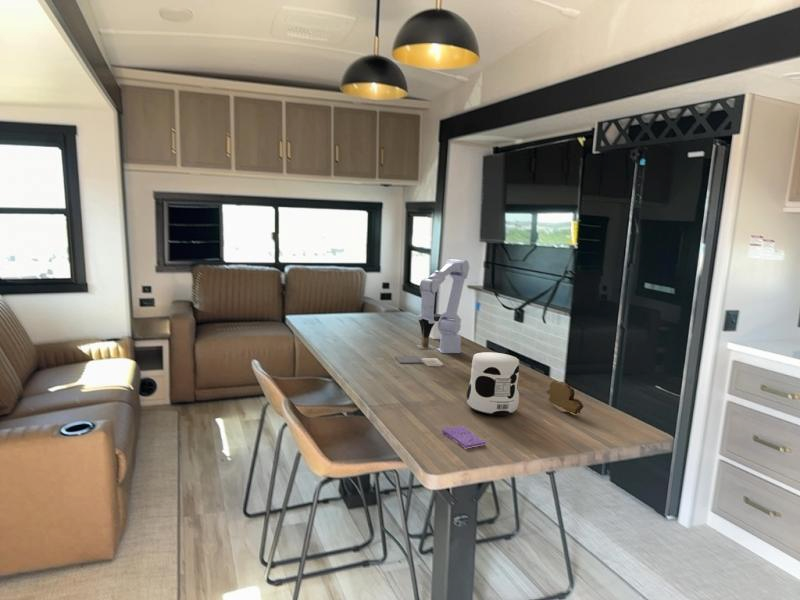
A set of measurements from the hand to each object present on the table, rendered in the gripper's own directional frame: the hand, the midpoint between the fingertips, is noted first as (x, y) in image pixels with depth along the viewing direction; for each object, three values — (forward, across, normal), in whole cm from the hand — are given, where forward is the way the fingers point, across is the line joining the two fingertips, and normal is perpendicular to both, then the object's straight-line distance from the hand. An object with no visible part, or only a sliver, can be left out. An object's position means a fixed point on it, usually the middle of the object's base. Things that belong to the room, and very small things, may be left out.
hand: (425, 336), depth 237 cm
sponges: (+12, +84, -13) cm, 86 cm away
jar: (+10, -41, +20) cm, 47 cm away
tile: (+10, +1, +2) cm, 10 cm away
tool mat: (+10, +1, -8) cm, 13 cm away
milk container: (+11, +62, +5) cm, 64 cm away
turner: (+5, +2, 0) cm, 5 cm away
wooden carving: (+11, +66, +30) cm, 73 cm away
